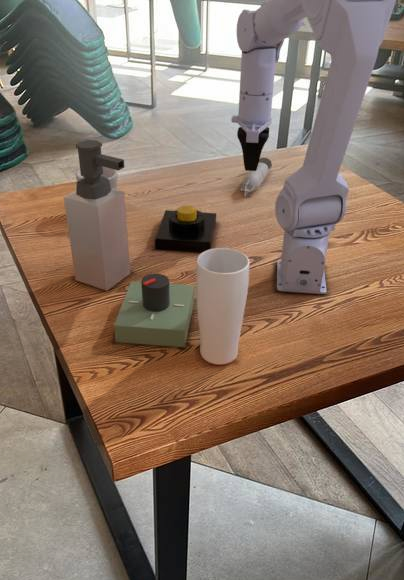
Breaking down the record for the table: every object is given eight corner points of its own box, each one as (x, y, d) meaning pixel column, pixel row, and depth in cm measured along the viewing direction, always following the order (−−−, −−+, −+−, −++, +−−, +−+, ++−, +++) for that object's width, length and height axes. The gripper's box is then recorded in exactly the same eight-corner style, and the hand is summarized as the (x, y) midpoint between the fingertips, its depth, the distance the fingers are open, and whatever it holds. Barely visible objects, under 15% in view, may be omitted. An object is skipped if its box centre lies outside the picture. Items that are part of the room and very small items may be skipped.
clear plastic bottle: (255, 168, 135) (257, 140, 131) (275, 171, 134) (278, 143, 130) (233, 197, 122) (235, 167, 118) (255, 201, 121) (257, 170, 117)
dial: (158, 293, 87) (157, 268, 84) (175, 304, 84) (174, 279, 82) (137, 302, 85) (135, 277, 82) (153, 314, 82) (152, 289, 80)
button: (195, 223, 104) (195, 214, 103) (175, 222, 104) (175, 213, 103) (197, 214, 107) (197, 205, 106) (178, 213, 107) (178, 204, 106)
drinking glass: (240, 339, 83) (247, 246, 74) (245, 369, 78) (253, 274, 68) (194, 340, 83) (195, 247, 73) (195, 370, 78) (196, 274, 68)
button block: (210, 253, 103) (210, 232, 100) (155, 249, 104) (154, 229, 101) (216, 223, 112) (216, 204, 110) (165, 220, 113) (165, 201, 110)
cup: (128, 222, 112) (126, 183, 107) (88, 228, 110) (84, 188, 105) (114, 200, 120) (111, 163, 115) (76, 206, 117) (71, 167, 112)
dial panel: (184, 347, 81) (184, 329, 79) (115, 342, 82) (113, 324, 80) (194, 301, 91) (194, 284, 89) (132, 296, 91) (131, 279, 89)
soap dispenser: (118, 295, 92) (105, 158, 78) (75, 279, 95) (56, 146, 81) (141, 277, 96) (133, 144, 82) (100, 263, 99) (85, 133, 86)
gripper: (235, 79, 104) (231, 154, 113) (230, 102, 93) (226, 183, 101) (274, 81, 104) (267, 156, 112) (273, 104, 92) (266, 185, 101)
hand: (250, 169), depth 107 cm, fingers closed
